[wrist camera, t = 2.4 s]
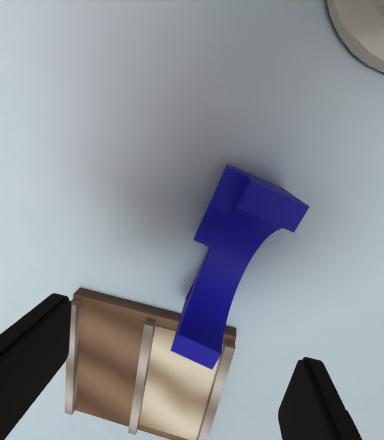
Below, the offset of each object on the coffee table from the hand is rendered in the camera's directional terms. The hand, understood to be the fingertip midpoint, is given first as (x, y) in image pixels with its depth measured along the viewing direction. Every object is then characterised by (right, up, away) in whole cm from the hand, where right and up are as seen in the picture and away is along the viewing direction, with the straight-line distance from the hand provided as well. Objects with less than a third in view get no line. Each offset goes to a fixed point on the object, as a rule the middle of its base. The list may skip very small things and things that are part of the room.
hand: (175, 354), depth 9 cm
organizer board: (-4, -10, +15) cm, 18 cm away
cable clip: (+3, +3, +10) cm, 11 cm away
